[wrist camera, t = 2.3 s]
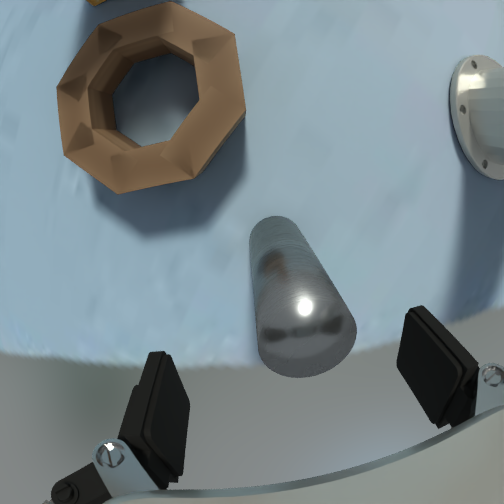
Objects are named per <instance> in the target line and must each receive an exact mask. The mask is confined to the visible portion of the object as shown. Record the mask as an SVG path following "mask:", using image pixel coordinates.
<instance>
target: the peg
mask: <svg viewBox="0 0 504 504" xmlns="http://www.w3.org/2000/svg"><path fill="white" fill-rule="evenodd" d="M249 245H250V257H251V269H252V281H253V293H254V304H255V316H256V328H257V340H258V351H259V355H260V357H261V359H262V361H263V362H264V364H265V365H266V366H267V367H268V368H270V369H271V370H272V371H274V372H276V373H278V374H280V375H283V376H287V377H295V378H303V377H310V376H315V375H318V374H321V373H324V372H326V371H328V370H330V369H332V368H333V367H335V366H336V365H338V364H339V363H340V362H341V361H342V360H343V359H344V358H345V357H346V356H347V355H348V354H349V352H350V351H351V349H352V347H353V345H354V343H355V340H356V334H357V328H356V323H355V320H354V318H353V316H352V314H351V313H350V311H349V309H348V308H347V306H346V304H345V302H344V301H343V299H342V297H341V296H340V294H339V292H338V291H337V289H336V287H335V286H334V284H333V283H332V281H331V279H330V278H329V276H328V274H327V273H326V271H325V269H324V268H323V266H322V265H321V263H320V261H319V260H318V258H317V257H316V255H315V253H314V252H313V250H312V249H311V247H310V246H309V244H308V242H307V241H306V239H305V238H304V236H303V235H302V233H301V231H300V230H299V228H298V227H297V225H296V224H295V223H294V222H293V221H291V220H290V219H288V218H285V217H281V216H272V217H268V218H265V219H263V220H261V221H260V222H259V223H257V224H256V226H255V227H254V228H253V230H252V232H251V234H250V239H249Z"/></svg>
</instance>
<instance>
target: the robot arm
mask: <svg viewBox="0 0 504 504" xmlns="http://www.w3.org/2000/svg"><path fill="white" fill-rule="evenodd" d="M450 104H451V114H452V119H453V124H454V128H455V131H456V134H457V138H458V140H459V143H460V145H461V147H462V150H463V152H464V153H465V155H466V157H467V159H468V160H469V162H470V163H471V164H472V165H473V167H474V168H475V169H476V170H477V171H479V172H480V173H481V174H482V175H484V176H486V177H488V178H492V179H496V180H504V67H502V66H501V65H500V64H499V63H497V62H496V61H495V60H493V59H491V58H490V57H488V56H484V55H473V56H469V57H466V58H464V59H463V60H462V61H460V62H459V64H458V65H457V67H456V68H455V71H454V73H453V76H452V81H451V87H450ZM397 368H398V370H399V371H400V373H401V375H402V376H403V378H404V379H405V381H406V382H407V384H408V385H409V387H410V389H411V390H412V392H413V393H414V395H415V397H416V398H417V400H418V401H419V403H420V405H421V406H422V408H423V410H424V411H425V413H426V415H427V416H428V418H429V420H430V421H431V423H433V424H436V426H437V427H438V429H439V428H441V427H443V426H445V425H447V424H450V425H451V429H450V430H448V431H445V432H443V433H441V434H439V435H437V436H435V437H433V438H431V439H429V440H426V441H424V442H422V443H420V444H417V445H415V446H413V447H410V448H408V449H405V450H403V451H400V452H398V453H395V454H392V455H390V456H387V457H384V458H381V459H378V460H375V461H372V462H369V463H366V464H363V465H360V466H357V467H353V468H350V469H346V470H342V471H338V472H334V473H330V474H326V475H322V476H317V477H312V478H308V479H302V480H297V481H291V482H285V483H279V484H272V485H263V486H255V487H244V488H228V489H208V490H207V489H205V490H167V489H166V488H168V485H169V482H174V483H178V476H182V475H183V469H184V458H185V448H186V438H187V428H188V420H189V412H190V402H189V398H188V396H187V394H186V392H185V389H184V387H183V384H182V382H181V380H180V377H179V375H178V372H177V370H176V367H175V365H174V362H173V360H172V357H171V355H169V354H168V355H167V354H166V353H165V351H158V352H150V353H149V355H148V358H147V361H146V364H145V367H144V370H143V373H142V376H141V380H140V382H139V385H136V386H134V388H133V390H132V394H131V397H130V400H129V403H128V406H127V409H126V412H125V415H124V418H123V422H122V425H121V428H120V432H119V435H118V438H117V439H107V440H104V441H102V442H101V443H99V444H98V445H97V446H96V447H95V449H94V451H93V454H92V460H93V462H92V463H90V464H88V465H87V466H85V467H84V468H81V469H80V470H78V471H76V472H74V473H72V474H71V475H69V476H67V477H65V478H64V479H61V480H60V481H58V482H57V483H56V484H55V485H54V486H53V488H52V491H51V498H52V499H51V500H50V501H48V500H46V501H45V502H44V503H43V504H504V368H503V367H502V366H500V365H498V364H495V363H488V364H485V365H484V366H482V367H481V368H479V367H478V362H477V361H476V360H475V359H474V358H473V357H472V355H470V353H469V352H468V351H467V350H466V349H465V348H464V347H463V346H462V345H461V344H460V343H459V341H458V340H457V339H456V338H455V337H454V336H453V335H452V334H451V333H450V332H449V331H448V330H447V329H446V328H445V327H444V326H443V325H442V324H441V323H440V322H439V321H438V320H437V319H436V318H435V317H434V316H433V315H432V314H431V313H430V312H429V311H428V310H427V309H426V308H425V307H424V306H422V305H421V306H417V307H414V308H410V309H409V311H408V313H406V315H405V320H404V326H403V332H402V337H401V342H400V347H399V352H398V357H397Z"/></svg>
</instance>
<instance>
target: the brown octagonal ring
mask: <svg viewBox="0 0 504 504" xmlns="http://www.w3.org/2000/svg"><path fill="white" fill-rule="evenodd" d="M169 53H172V54H174V55H176V56H178V57H179V58H181V59H183V60H184V61H186V62H188V63H190V64H191V65H193V66H195V70H196V78H197V85H198V92H199V99H200V100H199V101H198V103H197V104H196V105H195V106H194V108H193V109H192V110H191V112H190V113H189V114H188V116H187V117H186V118H185V120H184V121H183V123H182V124H181V125H180V127H179V128H178V130H177V131H176V132H175V134H174V135H173V137H172V138H171V140H170V141H165V142H161V143H156V144H152V145H148V146H144V147H141V146H140V145H138V144H137V143H135V142H134V141H132V140H131V139H129V138H128V137H126V136H125V135H123V134H122V133H120V132H119V131H117V129H116V122H115V115H114V107H113V98H112V94H113V93H114V91H115V90H116V88H117V87H118V85H119V84H120V82H121V81H122V79H123V78H124V77H125V75H126V74H127V72H128V71H129V70H130V68H131V67H132V66H133V64H134V63H137V62H140V61H143V60H147V59H150V58H154V57H158V56H161V55H165V54H169ZM57 102H58V113H59V123H60V131H61V139H62V146H63V152H64V156H66V157H67V158H68V159H70V160H71V161H72V162H74V163H75V164H76V165H78V166H79V167H81V168H82V169H83V170H85V171H86V172H87V173H89V174H90V175H91V176H93V177H94V178H96V179H97V180H98V181H100V182H101V183H102V184H104V185H105V186H107V187H108V188H109V189H111V190H112V191H114V192H115V193H116V194H122V193H126V192H131V191H135V190H140V189H144V188H149V187H153V186H158V185H163V184H168V183H173V182H178V181H184V180H189V179H194V178H196V177H197V176H198V175H200V174H201V173H202V172H203V171H204V170H205V168H206V167H207V165H208V164H209V163H210V161H211V160H212V159H213V157H214V156H215V155H216V153H217V152H218V151H219V149H220V148H221V147H222V145H223V144H224V143H225V141H226V140H227V139H228V137H229V136H230V135H231V133H232V132H233V131H234V130H235V128H236V127H237V126H238V125H239V123H240V122H241V121H242V119H243V118H244V117H245V114H246V106H245V99H244V93H243V86H242V79H241V73H240V66H239V60H238V53H237V47H236V40H235V34H234V33H232V32H230V31H229V30H227V29H225V28H223V27H222V26H220V25H218V24H216V23H214V22H212V21H211V20H209V19H207V18H205V17H203V16H201V15H199V14H197V13H195V12H193V11H191V10H189V9H187V8H185V7H183V6H180V5H178V4H176V3H174V2H172V1H169V2H165V3H161V4H157V5H154V6H150V7H147V8H143V9H140V10H137V11H134V12H131V13H128V14H125V15H122V16H120V17H117V18H114V19H112V20H109V21H106V22H104V23H101V24H99V25H98V26H97V27H96V28H95V30H94V31H93V32H92V34H91V35H90V36H89V38H88V39H87V40H86V42H85V43H84V45H83V46H82V47H81V49H80V50H79V52H78V53H77V55H76V56H75V58H74V59H73V61H72V62H71V64H70V66H69V67H68V69H67V70H66V72H65V74H64V75H63V77H62V79H61V80H60V82H59V84H58V85H57Z"/></svg>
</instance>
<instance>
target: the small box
mask: <svg viewBox="0 0 504 504" xmlns="http://www.w3.org/2000/svg"><path fill="white" fill-rule="evenodd" d="M86 1H88V2H89V3H90V4H91V5H93V6H96V5H98V4H100V3H102V2H104V1H106V0H86Z"/></svg>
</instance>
